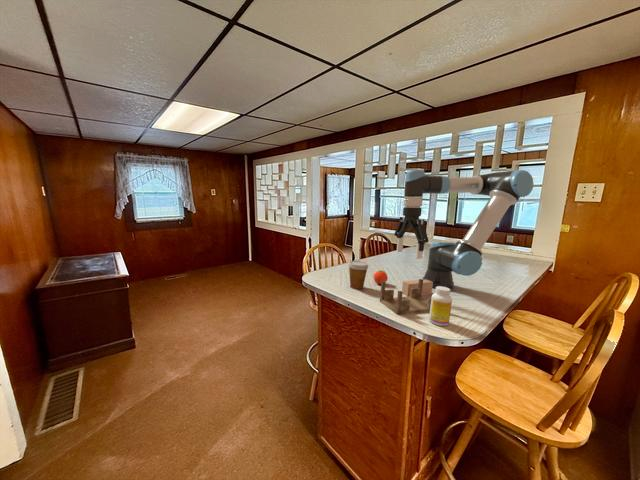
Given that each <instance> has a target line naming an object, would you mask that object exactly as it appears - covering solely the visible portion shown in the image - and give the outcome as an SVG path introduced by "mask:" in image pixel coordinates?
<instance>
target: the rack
mask: <svg viewBox="0 0 640 480" xmlns="http://www.w3.org/2000/svg"><path fill="white" fill-rule="evenodd" d="M418 280H419V284H418V288H411V290H410V296H403V294H402V293H403V292H402V290H398V291H397V297H394V293H395V290H394V289H386V283H387V281H386V282H385V281H382V283H381V284H380V292H379V293H380V294H379V295H380V296H379V302H380V303H381V304H382V305H383V306H385V307H387V309H389V310H391V311H392V312H393V313H394V314H396V315H399V316H400V315H408V314H417V313H418V314H419V313H430V306H431V298H432V296H431V297H427V299H426V298H425V297H422V295H421V294H422V286H423V278H419V279H418Z"/></svg>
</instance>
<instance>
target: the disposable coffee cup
mask: <svg viewBox="0 0 640 480" xmlns="http://www.w3.org/2000/svg"><path fill="white" fill-rule="evenodd" d="M368 264H369V263H367V262H364V261H360V260H352V261H350V262H349V263H348V265H347V266H348V270H349V272H348V273H349V286H350V288H352V289H354V290H362V289H364V285H365V279H366V275H367V272H368V271H367V270H368V268H369V265H368Z"/></svg>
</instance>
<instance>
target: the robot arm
mask: <svg viewBox="0 0 640 480" xmlns="http://www.w3.org/2000/svg"><path fill="white" fill-rule="evenodd" d="M533 189H534V179H533V176H532V175H531V173H530V172H529V171H527V170H526V169H525V170H524V169H523V170H522V169H520V170H519V169H515V170H511V171H509V170H508V171H497V172H491V173H486V174H485V173H484V174H478V175H477V174H476V175H475V174H474V175H472V176H470V177H468V176H466V177H465V176H463V177H462V176H461V177H458V176H457V177H448V176H446V175H426V171H425V170H424V169H409V170H407V171H406V172H405V178H404V192H403V195H404V196H403V206H404V207H403V208H402V215H403V216H399V220H398V223H397V226H396V229H395V231H394V236H395V237H396V253H402V252H403V249H404V236H405V234H406V233H407V231H408V229H409V230H410V229H411V230H412V231H413V233H414V236H415V238H416V240H417V243H416V251H415V259H416V260H417V259H419V260H420V259H423V253H424V249H425V244H427V243H429V238H428V233H427V229H426V224H425V223H426V221H425V219H424V218H423V219H420V217H421V216H422V206H423V197H424V195H425V194H428V195H429V194H434V195H436V194H437V195H441V194H443V195H444V194H459V193H460V194H464V193H466V194H467V193H468V194H469V193H470V194H471V195H474V196H475V195H481V196H488V197H489V200H488V201H487V202H486V203H485V205H484V207H483V208H482V210H481V211H480V213H479V215H478V216H477V217H476V218H475V220H474V221H473V223H472V225H471V227H470V228H469V229H468V231H467V232H466V234H465V235H464V236H463V238H462V239H461V240H457V241H456V243H455V242H453V241H451V242H447V241H432V242H431V243H430V245H429V249H428V250H429V253H428V261H427V269H426V272H425V274H424V276H423V277H422V279H423V280H429V281H432V282H433V286H432V289H436V287H437V286H442V287H447V288H449V289H450V290H452V289H454V287H455V286H454V285H455V281H454V279H453V272H454V273H455V274H457V275H461V276H466V277H467V276H469V277H470V276H472V275H474V274H476V273H477V272H479V270H480V269H481V268H482V266H483V265H482V264H483V257H482V255H483V251H482V248H483V247H484V245H485V244H486V243H487V240H489V238H490V236H491V235H492V233H493V232H494V230H495V229H496V227H497V226H498V224H499V223H500V221H501V220H502V218H503V217H504V216H505V213H506V212H507V211H508V210H509V208H510V206H513V205H516V204H517V203H518V201H519V199H520V198H524V197H527V196H529V195H530V194H531V193H532V192H533Z"/></svg>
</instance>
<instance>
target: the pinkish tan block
mask: <svg viewBox="0 0 640 480" xmlns="http://www.w3.org/2000/svg"><path fill="white" fill-rule="evenodd" d="M418 284H419V279H418V280H417V279H416V280H415V279H414V280H413V279H412V280H403V281H402V288H401V291H402V292H403V293H402V295H404V296H405V297H409V296H410V290H411V288H418ZM432 286H433V282H432V281H429V280H423V286H422V294H421V296H425V295H433V294H432V292H433V288H432Z"/></svg>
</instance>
